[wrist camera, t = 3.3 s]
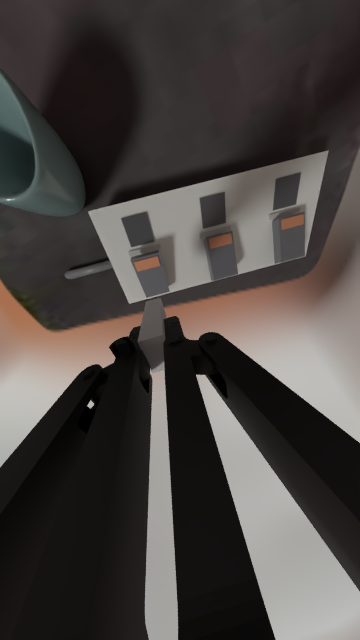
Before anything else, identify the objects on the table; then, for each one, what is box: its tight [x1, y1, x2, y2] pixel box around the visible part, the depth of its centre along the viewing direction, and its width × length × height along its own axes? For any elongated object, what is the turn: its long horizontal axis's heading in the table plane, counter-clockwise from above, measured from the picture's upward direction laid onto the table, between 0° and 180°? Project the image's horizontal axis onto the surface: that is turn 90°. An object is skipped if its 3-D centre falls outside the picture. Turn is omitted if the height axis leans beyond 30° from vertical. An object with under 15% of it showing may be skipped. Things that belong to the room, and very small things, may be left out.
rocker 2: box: [204, 231, 238, 281], centre depth 19 cm, size 6×4×1 cm, turn 13°
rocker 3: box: [272, 211, 305, 264], centre depth 19 cm, size 6×4×1 cm, turn 13°
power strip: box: [65, 150, 329, 304], centre depth 21 cm, size 12×39×4 cm, turn 103°
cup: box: [0, 68, 86, 217], centre depth 13 cm, size 8×8×10 cm
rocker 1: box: [130, 250, 170, 298], centre depth 19 cm, size 6×4×1 cm, turn 13°
